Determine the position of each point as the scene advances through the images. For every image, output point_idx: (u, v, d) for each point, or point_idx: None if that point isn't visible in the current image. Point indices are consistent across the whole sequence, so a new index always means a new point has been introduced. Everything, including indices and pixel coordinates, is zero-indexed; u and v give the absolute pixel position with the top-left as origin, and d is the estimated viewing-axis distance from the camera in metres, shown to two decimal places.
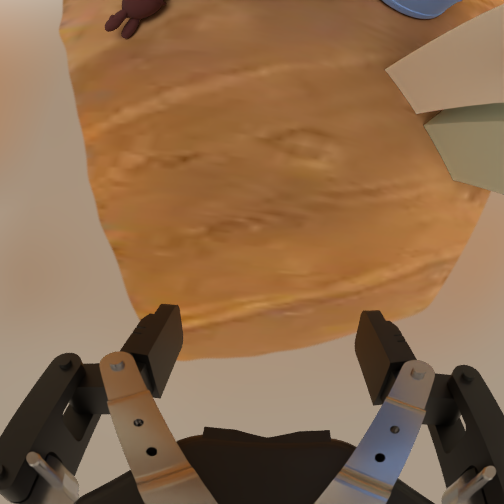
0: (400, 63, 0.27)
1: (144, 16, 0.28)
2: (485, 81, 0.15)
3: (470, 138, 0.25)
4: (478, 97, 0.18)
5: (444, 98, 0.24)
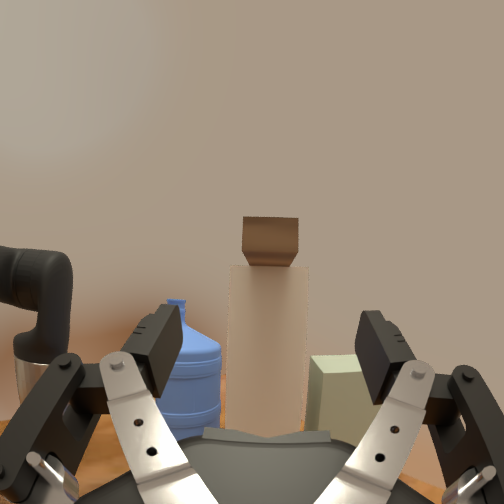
0: None
1: None
2: (280, 396, 0.27)
3: None
4: (293, 417, 0.26)
5: None
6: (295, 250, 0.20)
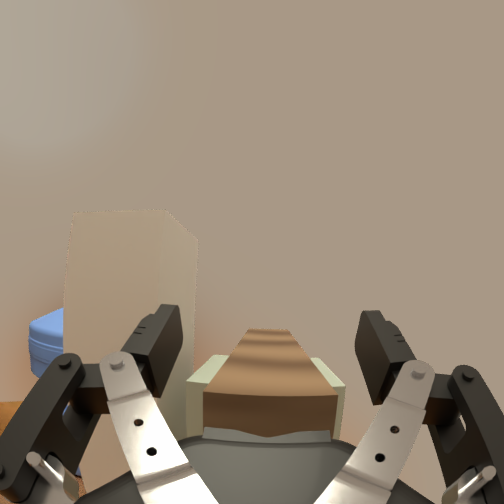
0: None
1: None
2: None
3: None
4: None
5: None
6: None
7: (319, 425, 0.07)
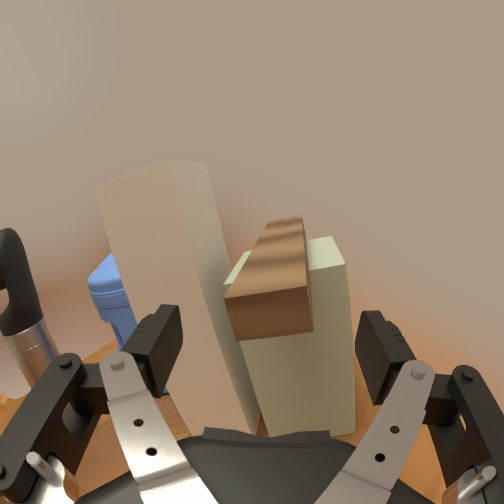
0: (184, 415, 0.29)
1: None
2: (186, 316, 0.25)
3: (275, 381, 0.26)
4: (209, 339, 0.25)
5: (221, 390, 0.27)
6: (309, 330, 0.14)
7: (299, 307, 0.13)
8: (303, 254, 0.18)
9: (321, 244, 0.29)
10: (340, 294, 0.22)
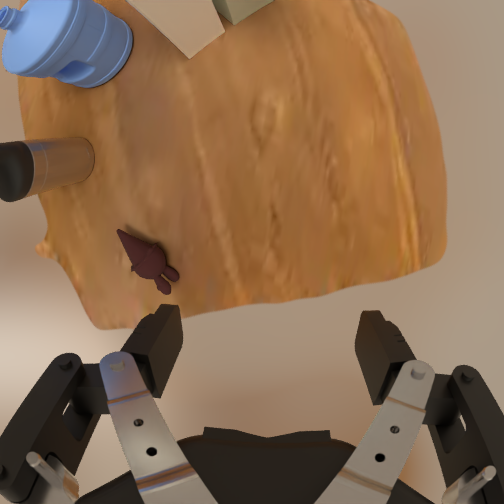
0: (183, 48, 0.35)
1: (164, 261, 0.50)
2: None
3: None
4: None
5: (207, 14, 0.30)
6: None
7: None
8: None
9: None
10: None
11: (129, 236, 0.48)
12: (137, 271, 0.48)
